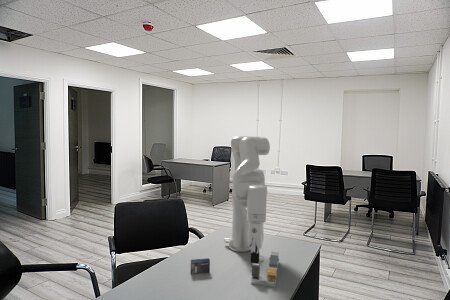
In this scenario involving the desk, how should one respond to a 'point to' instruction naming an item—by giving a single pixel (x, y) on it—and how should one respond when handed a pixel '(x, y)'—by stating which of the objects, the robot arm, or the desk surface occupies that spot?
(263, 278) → the panel
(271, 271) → the amber rocker
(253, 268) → the slider knob
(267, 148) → the robot arm
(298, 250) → the desk surface
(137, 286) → the desk surface
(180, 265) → the desk surface
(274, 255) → the slate rocker
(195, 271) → the mini dv tape
